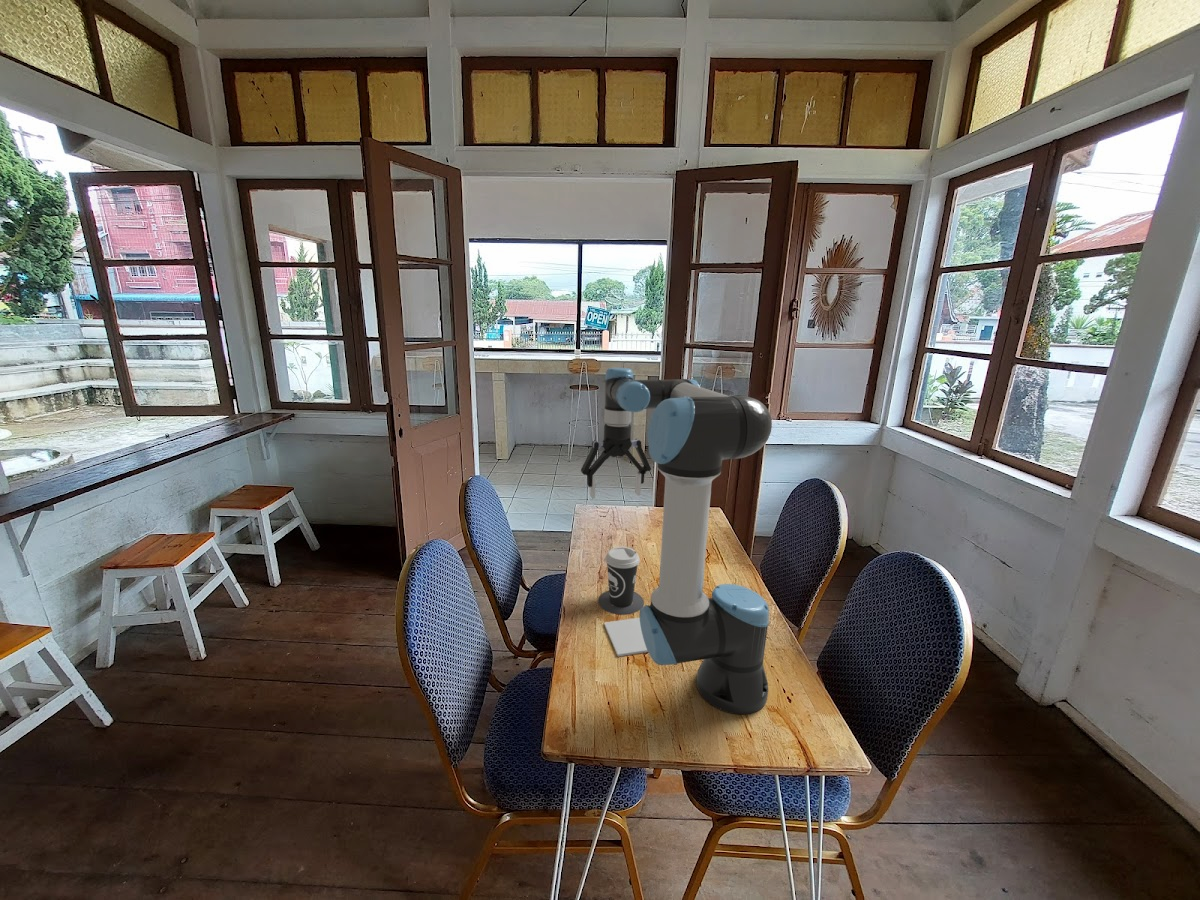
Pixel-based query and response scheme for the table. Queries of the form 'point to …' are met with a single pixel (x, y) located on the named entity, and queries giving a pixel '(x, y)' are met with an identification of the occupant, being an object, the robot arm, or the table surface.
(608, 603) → the coaster
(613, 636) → the plate
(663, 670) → the table surface
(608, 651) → the table surface
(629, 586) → the coffee cup
